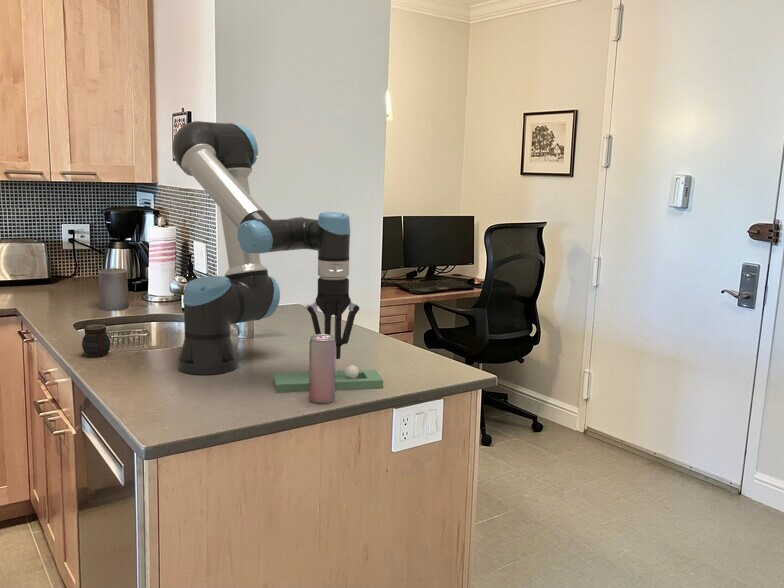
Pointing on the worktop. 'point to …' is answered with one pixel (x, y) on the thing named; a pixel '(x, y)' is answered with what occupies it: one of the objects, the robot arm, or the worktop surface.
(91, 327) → the mate gourd
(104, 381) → the worktop surface
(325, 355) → the beverage can
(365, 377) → the green rectangular board
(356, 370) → the white ball
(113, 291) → the pillar candle
